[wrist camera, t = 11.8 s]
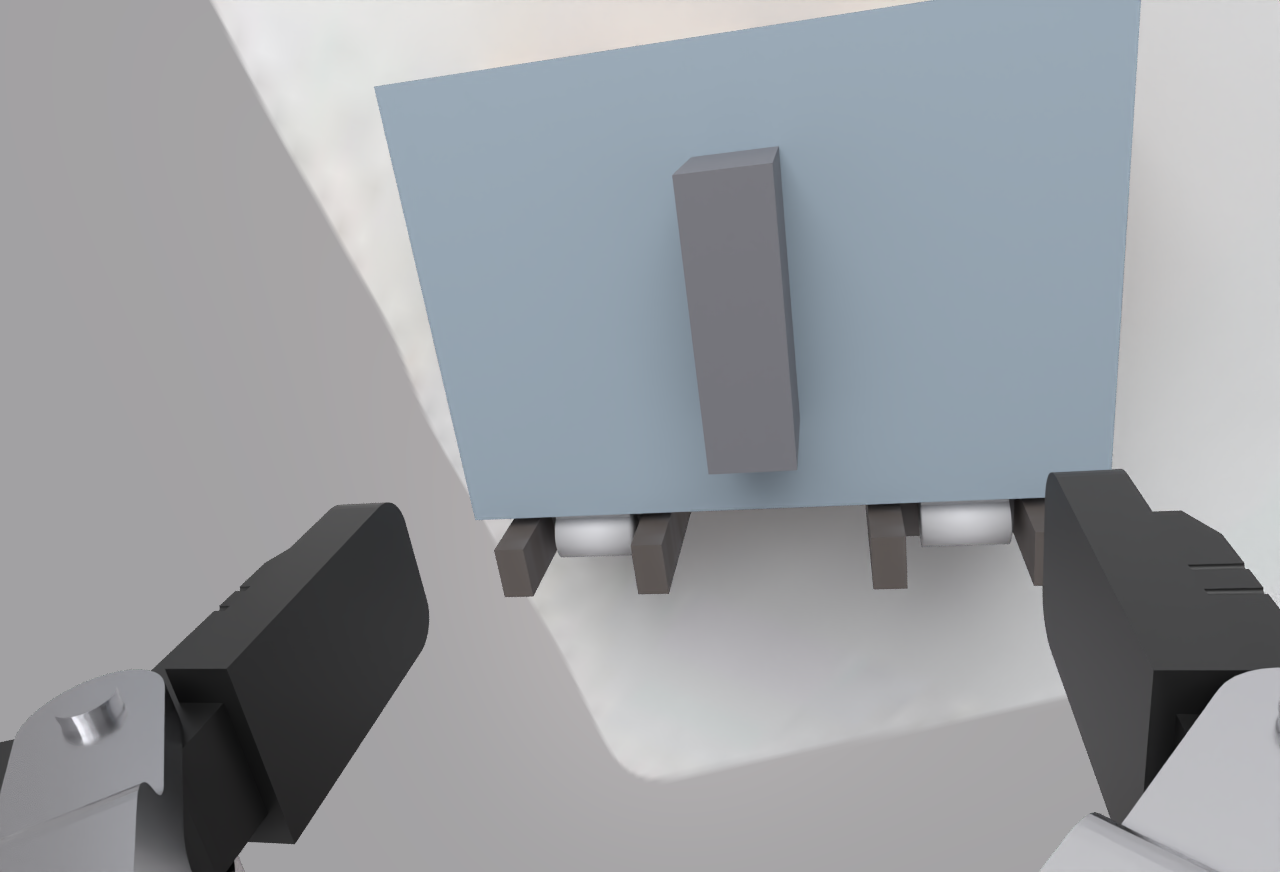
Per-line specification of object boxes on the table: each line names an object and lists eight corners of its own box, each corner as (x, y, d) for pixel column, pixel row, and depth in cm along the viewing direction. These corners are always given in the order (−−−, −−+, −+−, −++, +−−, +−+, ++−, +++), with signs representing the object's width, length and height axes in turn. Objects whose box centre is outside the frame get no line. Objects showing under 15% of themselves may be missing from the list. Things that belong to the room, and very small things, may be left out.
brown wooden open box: (1046, -10, 30) (1155, -32, 20) (1034, 434, 36) (1115, 583, 26) (482, 77, 35) (347, 94, 25) (556, 460, 41) (471, 597, 31)
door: (1122, -29, 23) (1200, -45, 18) (1092, 525, 29) (1144, 619, 24) (397, 84, 27) (310, 94, 23) (501, 544, 33) (448, 627, 29)
